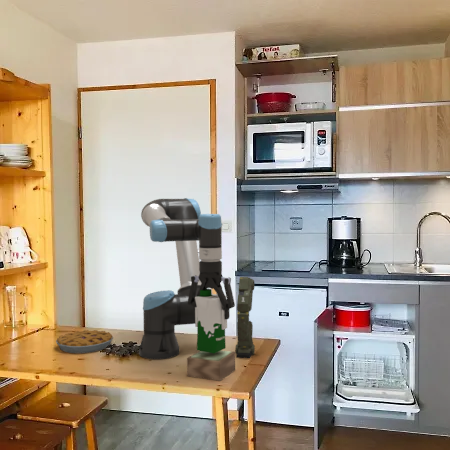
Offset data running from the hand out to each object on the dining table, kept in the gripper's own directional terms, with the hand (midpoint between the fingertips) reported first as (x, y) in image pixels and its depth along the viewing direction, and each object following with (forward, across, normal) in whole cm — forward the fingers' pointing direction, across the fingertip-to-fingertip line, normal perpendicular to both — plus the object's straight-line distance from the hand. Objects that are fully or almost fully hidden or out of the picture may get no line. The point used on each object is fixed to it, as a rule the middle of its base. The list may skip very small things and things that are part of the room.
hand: (211, 327), depth 171 cm
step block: (+15, 0, 0) cm, 15 cm away
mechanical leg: (+16, +2, +25) cm, 30 cm away
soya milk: (+8, 0, 0) cm, 8 cm away
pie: (+16, -61, +9) cm, 64 cm away
